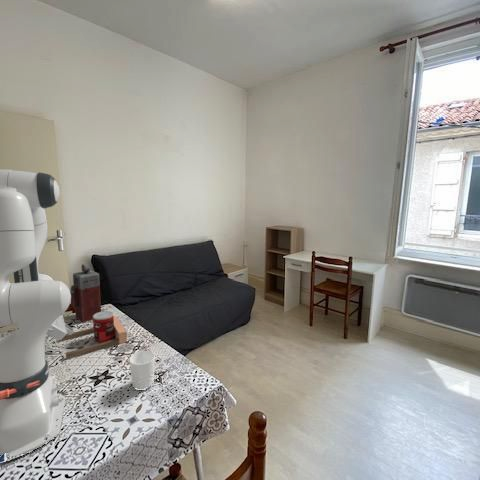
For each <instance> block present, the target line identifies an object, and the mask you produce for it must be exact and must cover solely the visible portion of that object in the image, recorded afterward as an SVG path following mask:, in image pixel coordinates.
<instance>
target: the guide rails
mask: <svg viewBox="0 0 480 480" xmlns="http://www.w3.org/2000/svg"><path fill="white" fill-rule="evenodd" d="M73 332H74V333H73V334H72V335H68V334H66V335H65V336H64V337H63V338H62V339H61V342H64V341H68V340H72V339H76V338H79V337H80V338H81V337H84V336H88V335H92V334H94V328H93V327H89V328H86V329H83V330H78V331H73ZM117 345H120V344H119V339H118V338H117V339H116V338H113V339H111V340H109V341H106V342H98V343H96V344H93V345H89V346H85V347H82V348H79V349H75V350H71V351H68V352H65V359H66V360H70V359H74V358H77V357H80V356H84V355H88V354H90V353H94V352H97V351H101V350H104V349H108V348H110V347H113V346H117Z"/></svg>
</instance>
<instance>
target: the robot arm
mask: <svg viewBox="0 0 480 480" xmlns="http://www.w3.org/2000/svg"><path fill="white" fill-rule="evenodd" d="M60 192H61V191H60V186H59V184H58V182H57V181H56V178H55V177H53V176H52V174H49V173H45V172H39V171H38V172H32V171H23V170H14V169H4V168H3V169H0V328H3V327H8V326H18V329H17V330H15V331H14V332H12V333H11V334H8V335H7V336H5V337H4V338H2V339H1V340H0V455H1V456H2V455H3V454H5V453H9V456H10V457H12V456H17V455H21V454H24V453H27V452H29V451H31V450H34V449H37V448H39V447H40V446H42V445H44V444H45V443H46V442H48V441H50V440H51V439H52V438H54V437H56V436H57V435H58V434H59V435H60V433H61V429H60V427H61V428H62V423H61V422H62V421H63V416H64V415H63V414H64V412H65V404H66V395H62V394H60V395H59V394H58V392H57V391H58V385H57V382H56V377H55V376H54V375H51V374H50V373H49V369H50V367H49V364H48V361H47V359H46V349H45V348H46V346H45V345H46V337H47V336H49V337H51V338H53V339H55V340H57V341H62V338H63V337H64V336H65V335H66V334H68V335H72V334H73V333H74V332H75V331H74V329H73V328H72V327H70V326H69V324H67V323H66V322H65V319H64V315H63V314H64V313H65V312H66V311H67V310H68V308H69V306H71V293H70V290H71V289H70V288H69V287H68V286H67V284H66V283H65V282H63V281H62V280H54V278H53V277H52V276H50V275H49V274H47V273H43V272H42V273H41V272H39V260H40V257H41V254H42V251H43V248H44V247H45V244H46V242H47V239H48V229H49V228H48V219H47V215H46V214H47V213H46V210H45V209H48V208H52V207H54V206H55V205H56V204H57V203H58V201H59V199H60V194H61V193H60ZM12 274H13V278H14V279H13V280H14V282H10V277H11V275H12ZM59 432H60V433H59ZM59 435H58V436H59ZM58 436H57V437H58ZM57 437H56V438H57ZM46 438H48V439H47V440H45V439H46ZM39 449H40V448H39ZM37 450H38V449H37ZM1 456H0V457H1ZM9 456H8V457H9Z"/></svg>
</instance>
